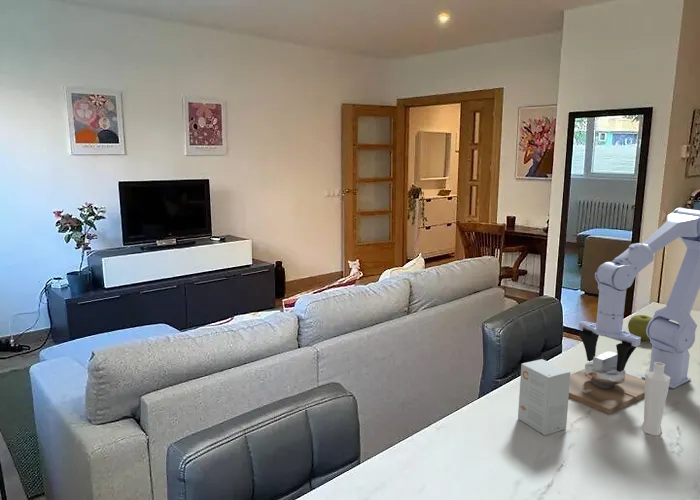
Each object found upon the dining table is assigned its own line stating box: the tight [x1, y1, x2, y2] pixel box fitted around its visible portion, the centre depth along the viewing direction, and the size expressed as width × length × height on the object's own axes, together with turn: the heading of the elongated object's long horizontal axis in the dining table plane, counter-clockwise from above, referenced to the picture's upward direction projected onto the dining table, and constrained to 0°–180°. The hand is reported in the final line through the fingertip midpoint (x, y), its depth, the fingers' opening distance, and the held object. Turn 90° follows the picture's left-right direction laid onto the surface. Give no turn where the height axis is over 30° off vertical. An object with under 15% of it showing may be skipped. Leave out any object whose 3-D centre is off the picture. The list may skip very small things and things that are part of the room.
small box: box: [517, 358, 571, 436], centre depth 114 cm, size 8×6×13 cm
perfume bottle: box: [640, 362, 671, 436], centre depth 111 cm, size 5×4×15 cm
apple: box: [627, 314, 653, 341], centre depth 165 cm, size 8×8×7 cm
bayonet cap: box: [584, 350, 626, 384], centre depth 130 cm, size 11×9×6 cm
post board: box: [569, 368, 645, 415], centre depth 131 cm, size 22×16×3 cm
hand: (605, 365), depth 130 cm, fingers open, 7 cm apart
